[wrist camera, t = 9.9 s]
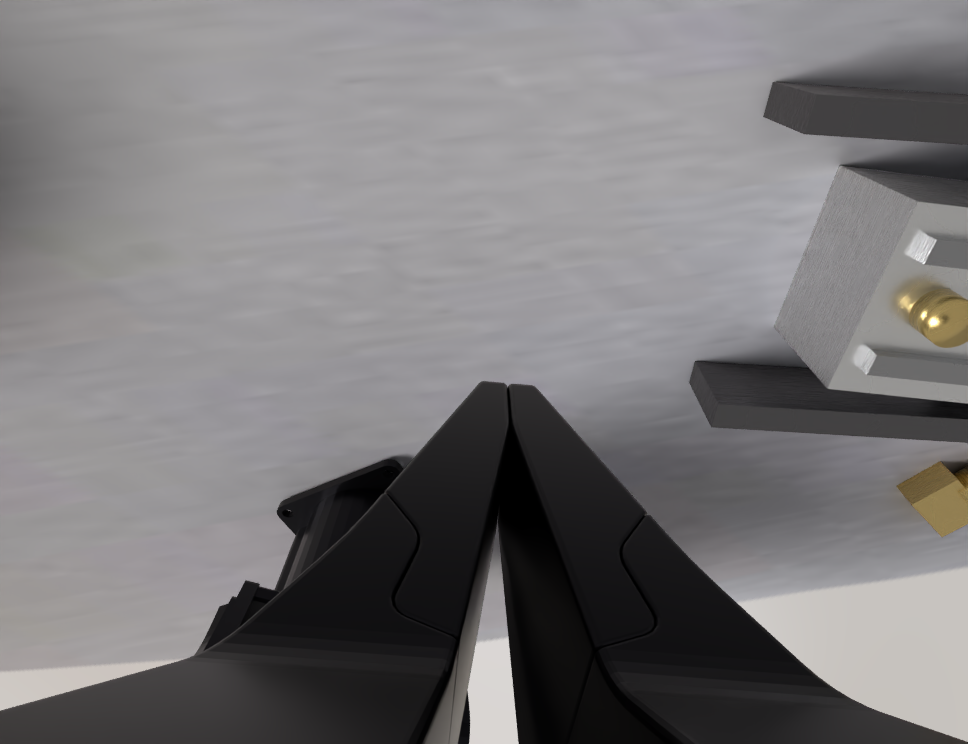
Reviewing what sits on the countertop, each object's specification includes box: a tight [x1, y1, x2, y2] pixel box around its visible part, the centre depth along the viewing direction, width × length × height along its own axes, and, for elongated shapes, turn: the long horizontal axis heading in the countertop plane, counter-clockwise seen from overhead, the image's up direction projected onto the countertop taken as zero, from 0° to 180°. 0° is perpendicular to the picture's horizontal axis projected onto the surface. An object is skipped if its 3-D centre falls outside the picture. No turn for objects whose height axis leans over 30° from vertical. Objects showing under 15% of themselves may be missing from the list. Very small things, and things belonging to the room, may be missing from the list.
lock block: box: [774, 165, 968, 404], centre depth 19 cm, size 7×6×6 cm
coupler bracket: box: [689, 82, 968, 443], centre depth 20 cm, size 14×11×3 cm
